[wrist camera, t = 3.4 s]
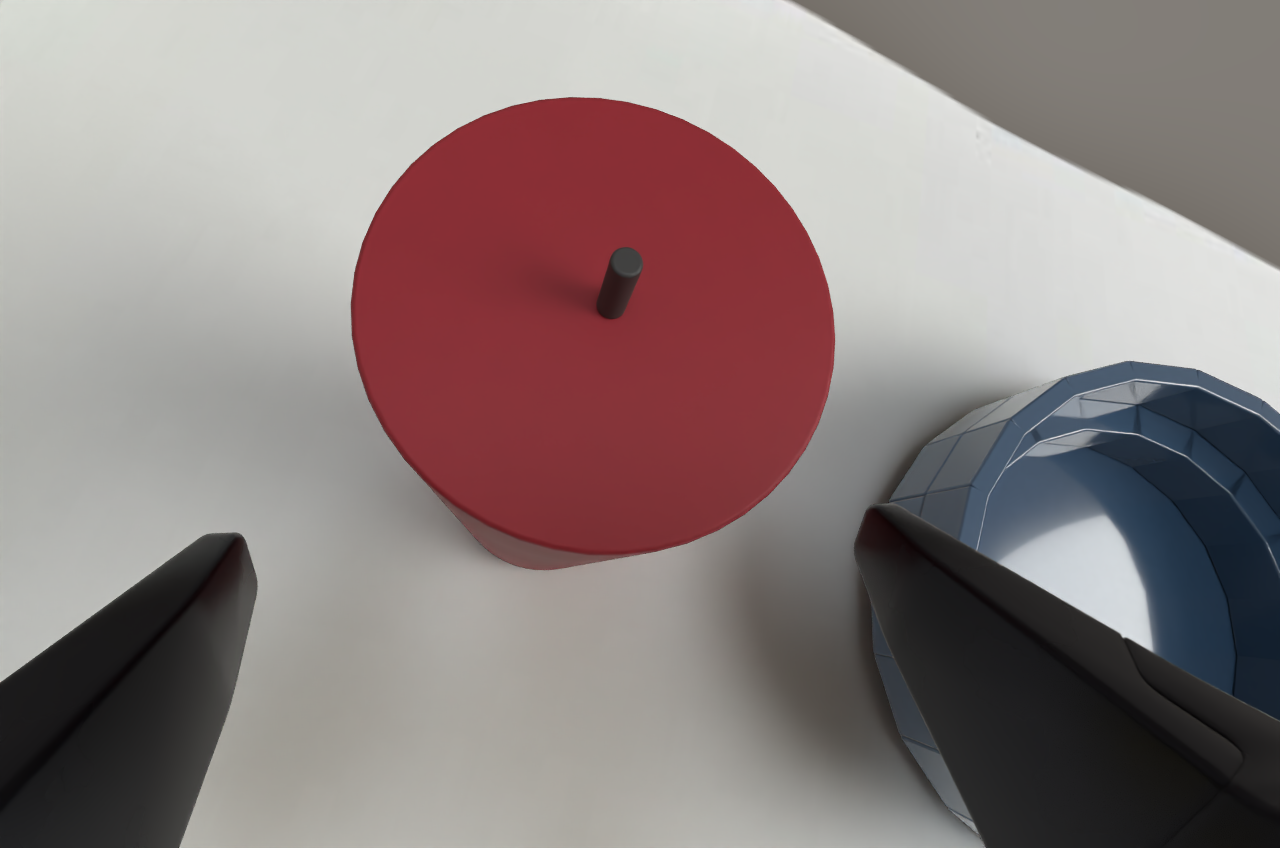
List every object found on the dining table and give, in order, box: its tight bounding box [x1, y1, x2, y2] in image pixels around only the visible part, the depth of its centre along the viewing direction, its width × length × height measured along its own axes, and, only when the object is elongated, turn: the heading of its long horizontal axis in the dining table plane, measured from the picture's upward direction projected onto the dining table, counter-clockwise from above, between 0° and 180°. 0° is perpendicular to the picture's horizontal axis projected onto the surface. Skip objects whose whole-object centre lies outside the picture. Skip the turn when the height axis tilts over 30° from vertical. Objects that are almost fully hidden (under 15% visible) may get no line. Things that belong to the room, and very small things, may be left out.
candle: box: [351, 97, 835, 570], centre depth 12 cm, size 5×5×14 cm
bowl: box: [871, 361, 1280, 834], centre depth 19 cm, size 14×14×4 cm
